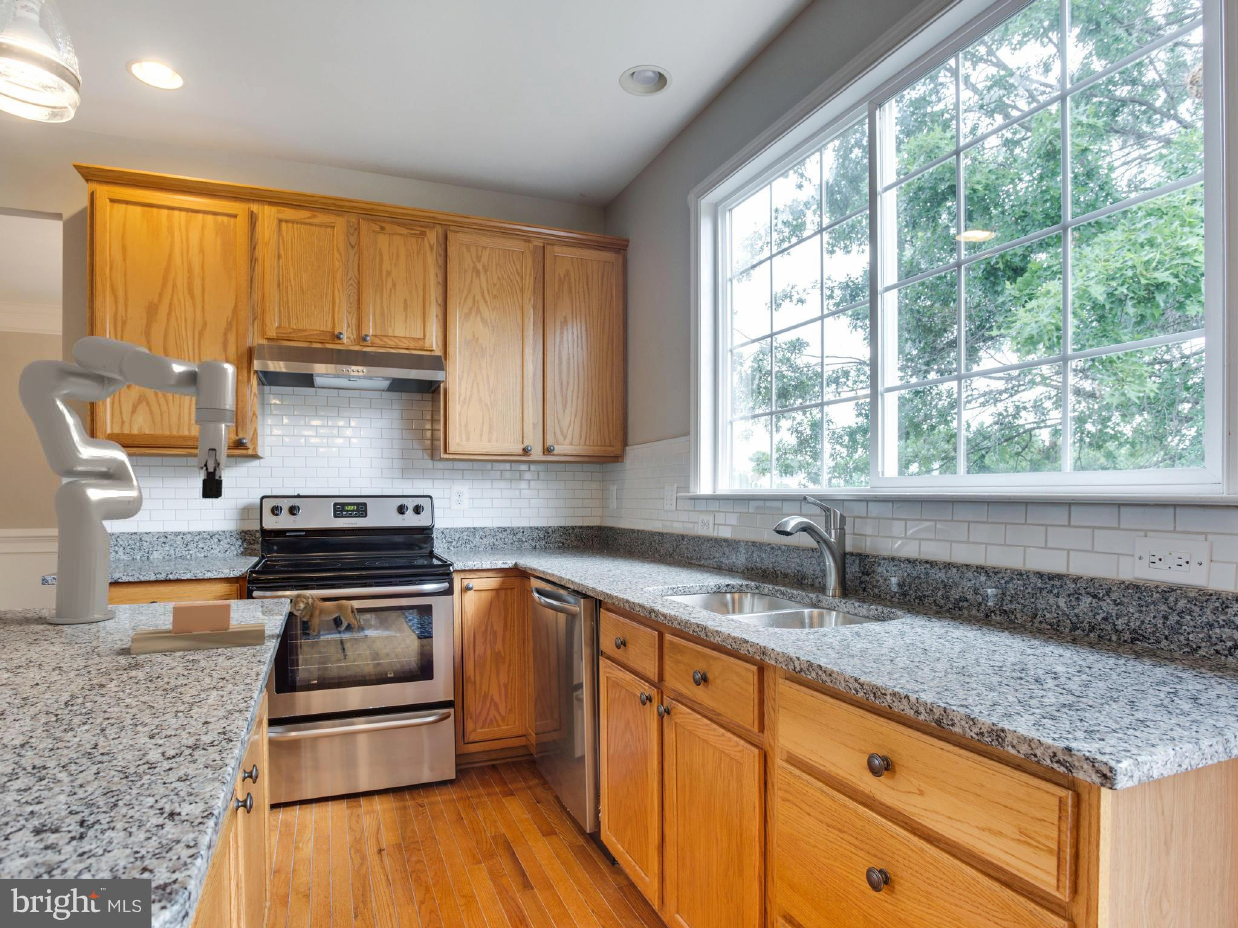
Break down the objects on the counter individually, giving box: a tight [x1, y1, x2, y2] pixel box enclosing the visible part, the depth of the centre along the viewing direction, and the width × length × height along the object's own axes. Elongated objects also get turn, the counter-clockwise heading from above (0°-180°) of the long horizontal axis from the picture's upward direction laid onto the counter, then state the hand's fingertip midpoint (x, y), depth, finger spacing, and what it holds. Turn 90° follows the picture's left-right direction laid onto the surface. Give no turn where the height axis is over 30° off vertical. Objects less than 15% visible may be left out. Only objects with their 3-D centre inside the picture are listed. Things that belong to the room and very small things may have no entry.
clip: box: [171, 600, 232, 634], centre depth 138 cm, size 4×10×8 cm, turn 117°
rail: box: [130, 622, 266, 655], centre depth 138 cm, size 7×22×3 cm, turn 117°
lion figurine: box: [291, 591, 365, 636], centre depth 152 cm, size 15×5×9 cm, turn 122°
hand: (212, 497), depth 153 cm, fingers open, 9 cm apart
